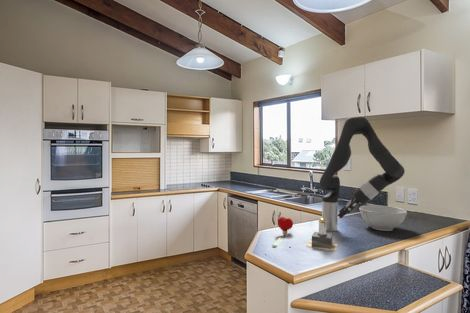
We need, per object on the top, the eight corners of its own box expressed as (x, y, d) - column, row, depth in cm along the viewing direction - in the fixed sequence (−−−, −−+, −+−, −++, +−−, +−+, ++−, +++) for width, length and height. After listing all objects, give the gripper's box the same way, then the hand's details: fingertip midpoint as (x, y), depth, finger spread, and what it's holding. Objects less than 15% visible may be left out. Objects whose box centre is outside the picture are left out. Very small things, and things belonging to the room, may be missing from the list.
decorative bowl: (351, 228, 194) (352, 208, 194) (368, 221, 213) (369, 203, 213) (398, 237, 175) (398, 215, 175) (412, 228, 194) (412, 209, 194)
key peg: (318, 243, 157) (319, 217, 157) (326, 244, 156) (326, 218, 155) (318, 245, 154) (318, 219, 153) (325, 246, 152) (325, 220, 152)
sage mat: (279, 239, 168) (279, 237, 168) (301, 242, 164) (301, 240, 164) (272, 246, 155) (272, 244, 155) (296, 250, 151) (296, 248, 151)
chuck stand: (309, 242, 164) (310, 229, 164) (337, 245, 159) (338, 233, 158) (305, 250, 151) (305, 236, 151) (335, 254, 146) (336, 240, 145)
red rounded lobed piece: (295, 235, 176) (295, 218, 175) (288, 238, 170) (289, 220, 170) (281, 232, 182) (281, 215, 181) (274, 234, 177) (274, 217, 176)
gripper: (360, 185, 154) (335, 206, 159) (359, 188, 141) (332, 211, 146) (371, 196, 152) (346, 217, 157) (372, 201, 139) (344, 224, 144)
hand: (339, 214), depth 151 cm, fingers open, 8 cm apart
